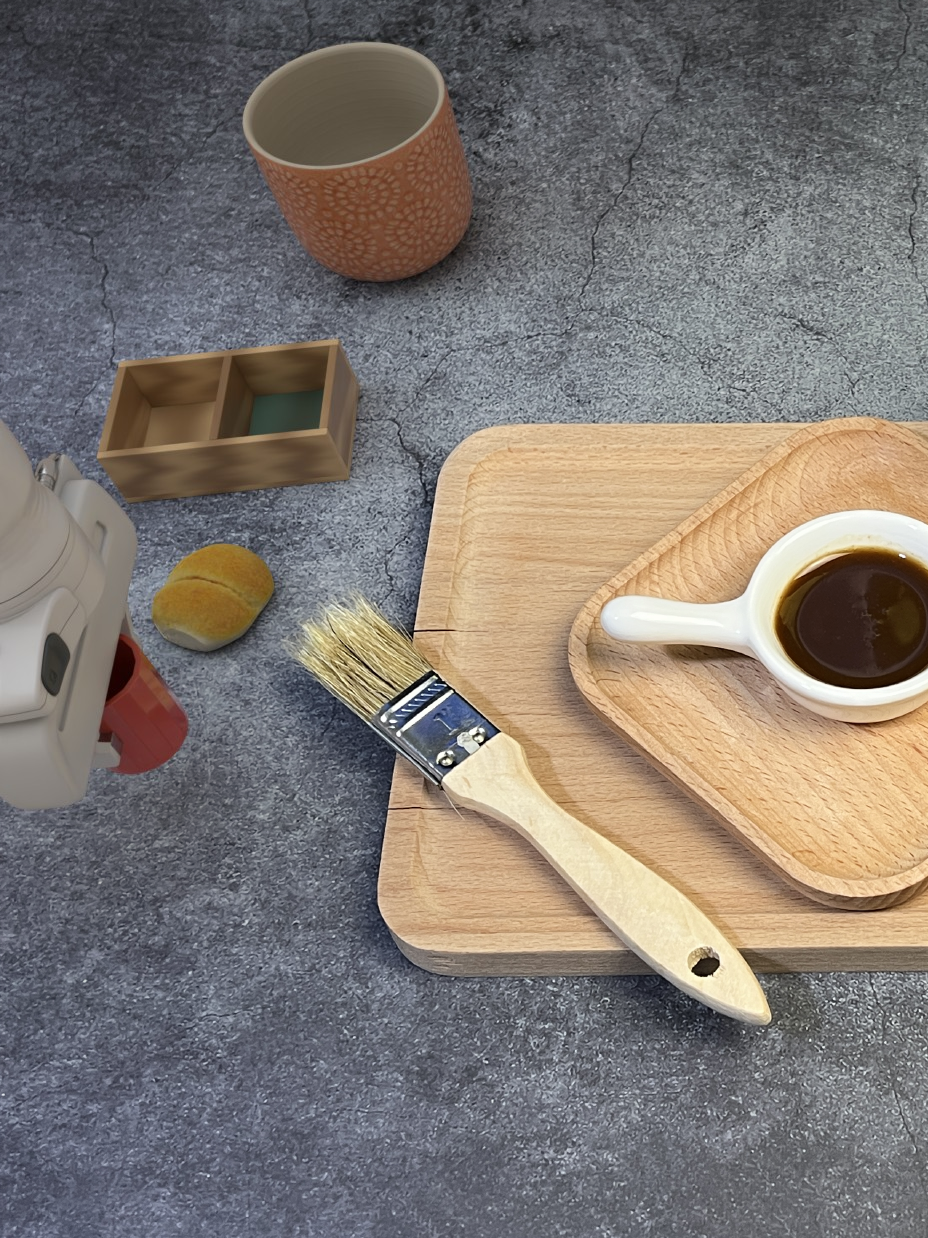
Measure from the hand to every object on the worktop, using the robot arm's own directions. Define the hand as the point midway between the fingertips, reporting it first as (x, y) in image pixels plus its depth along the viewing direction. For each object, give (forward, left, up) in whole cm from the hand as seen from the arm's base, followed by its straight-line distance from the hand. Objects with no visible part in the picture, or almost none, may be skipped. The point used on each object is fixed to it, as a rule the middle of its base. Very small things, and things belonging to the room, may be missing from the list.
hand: (119, 707), depth 95 cm
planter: (+9, +58, -14) cm, 60 cm away
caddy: (-2, +35, -14) cm, 38 cm away
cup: (0, 0, -3) cm, 3 cm away
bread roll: (-2, +18, -14) cm, 23 cm away
